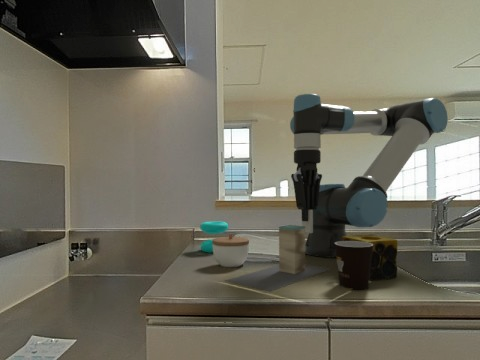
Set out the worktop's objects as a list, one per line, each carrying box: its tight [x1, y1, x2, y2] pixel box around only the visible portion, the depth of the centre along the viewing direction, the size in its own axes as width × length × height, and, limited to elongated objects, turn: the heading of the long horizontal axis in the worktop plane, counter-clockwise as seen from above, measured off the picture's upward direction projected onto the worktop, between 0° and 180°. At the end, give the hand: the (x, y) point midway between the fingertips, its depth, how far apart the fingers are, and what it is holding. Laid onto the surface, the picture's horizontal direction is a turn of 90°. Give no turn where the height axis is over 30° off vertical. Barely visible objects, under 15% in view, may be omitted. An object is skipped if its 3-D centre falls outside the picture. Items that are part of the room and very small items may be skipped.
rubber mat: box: [224, 263, 332, 292], centre depth 101 cm, size 28×14×1 cm, turn 138°
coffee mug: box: [335, 241, 373, 292], centre depth 92 cm, size 12×9×10 cm
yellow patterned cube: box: [342, 234, 398, 282], centre depth 101 cm, size 10×10×10 cm
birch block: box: [278, 224, 306, 274], centre depth 105 cm, size 5×5×12 cm
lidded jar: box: [211, 233, 250, 268], centre depth 113 cm, size 11×11×9 cm
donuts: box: [199, 220, 229, 253], centre depth 137 cm, size 10×10×10 cm
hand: (307, 232), depth 111 cm, fingers closed
